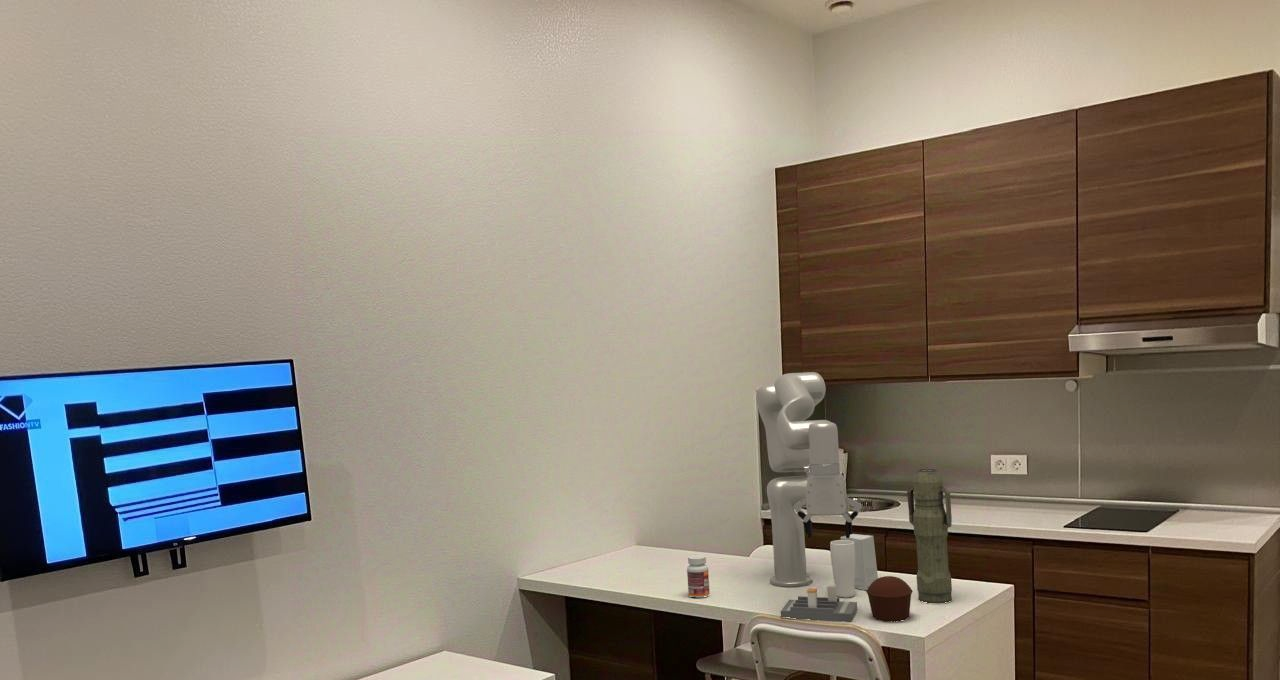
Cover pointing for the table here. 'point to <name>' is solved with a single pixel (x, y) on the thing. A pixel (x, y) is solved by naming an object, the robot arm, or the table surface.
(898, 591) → the muffin
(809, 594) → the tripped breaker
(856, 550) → the skincare box
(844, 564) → the drinking glass
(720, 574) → the table surface
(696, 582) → the pill bottle
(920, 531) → the green vase with handles
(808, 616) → the grey ridged tray
